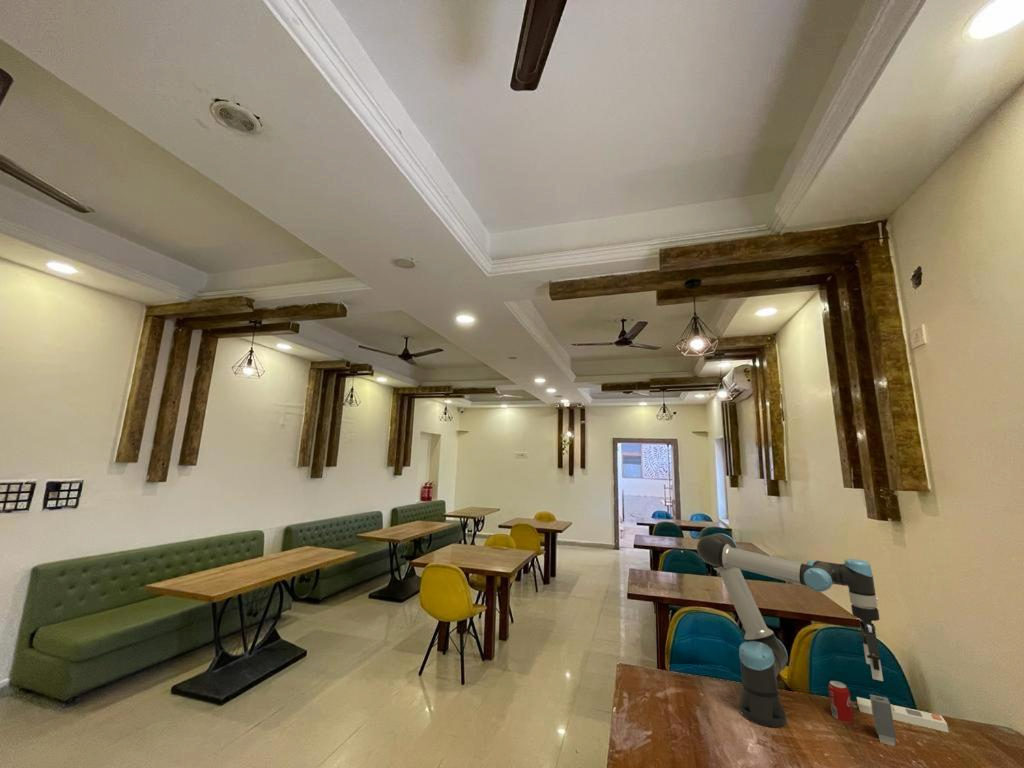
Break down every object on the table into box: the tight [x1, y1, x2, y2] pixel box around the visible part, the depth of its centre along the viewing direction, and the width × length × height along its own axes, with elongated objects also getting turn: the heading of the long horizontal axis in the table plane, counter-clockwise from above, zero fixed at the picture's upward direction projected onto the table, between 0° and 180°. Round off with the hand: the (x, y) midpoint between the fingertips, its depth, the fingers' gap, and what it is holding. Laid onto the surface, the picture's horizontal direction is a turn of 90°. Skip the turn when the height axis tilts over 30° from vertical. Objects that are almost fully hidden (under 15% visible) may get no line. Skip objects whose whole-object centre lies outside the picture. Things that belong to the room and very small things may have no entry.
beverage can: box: [827, 680, 854, 724], centre depth 154 cm, size 6×6×12 cm
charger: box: [869, 693, 897, 747], centre depth 143 cm, size 5×5×13 cm
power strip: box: [851, 696, 950, 733], centre depth 154 cm, size 27×6×4 cm, turn 58°
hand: (874, 671), depth 146 cm, fingers open, 13 cm apart
